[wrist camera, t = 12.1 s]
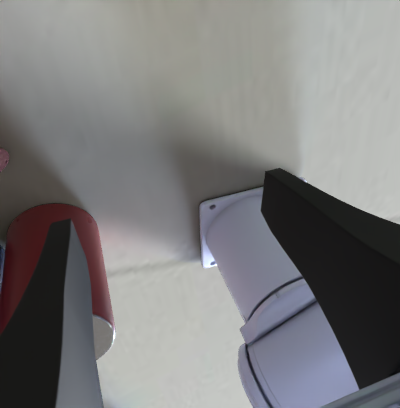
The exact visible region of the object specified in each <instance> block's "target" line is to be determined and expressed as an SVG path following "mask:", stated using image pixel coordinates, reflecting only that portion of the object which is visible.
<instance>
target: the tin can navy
mask: <svg viewBox="0 0 400 408" xmlns="http://www.w3.org/2000/svg"><path fill="white" fill-rule="evenodd" d="M4 257H5V251H4V249H3V248H2V246H1V245H0V294H1V285H2V276H3V266H4Z"/></svg>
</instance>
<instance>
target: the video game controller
mask: <svg viewBox="0 0 400 408" xmlns="http://www.w3.org/2000/svg"><path fill="white" fill-rule="evenodd" d="M8 161H9V153H8V152H7V151H6V150H4V149H2V148H0V172H1V171H2V170H3V169H4V168H5V167H6V165H7V163H8Z"/></svg>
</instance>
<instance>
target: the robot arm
mask: <svg viewBox="0 0 400 408" xmlns="http://www.w3.org/2000/svg"><path fill="white" fill-rule="evenodd" d="M211 205H213V206H211ZM210 206H211V207H210ZM199 215H200V241H201V264H202V266H203V268H209V267H212V266H216V265H217V266H218V268H219V270H220V272H221V275H222V277H223V279H224V281H225V283H226V285H227V287H228V289H229V291H230V293H231V295H232V297H233V299H234V301H235V304H236V306H237V308H238V310H239V312H240V314H241V316H242V318H243V320H244V322H245V325H244V326H242V327H241V328H240V331H241V333H242V336H243V338H244V340H245V343H244V344H242V345H241V346H240V347H239V351H238V371H239V376H240V379H241V382H242V385H243V387H244V390H245V392H246V394H247V396H248V398H249V400H250V402H251V404H252V406H253V408H400V224H396V223H393V222H391V221H388V220H385V219H382V218H380V217H377V216H375V215H372V214H370V213H367V212H365V211H362V210H360V209H358V208H355V207H353V206H351V205H349V204H347V203H345V202H343V201H341V200H339V199H337V198H335V197H333V196H331V195H329V194H327V193H325V192H323V191H321V190H319V189H318V188H316V187H314V186H312V185H310V184H308V183H307V182H306V180H305V179H304V178H302V177H301V178H298V177H296V176H294V175H292V174H290V173H289V172H287V171H285V170H283V169H281V168H278V169H274V170H269V171H265V179H264V187H260V188H256V189H252V190H248V191H244V192H240V193H236V194H232V195H228V196H224V197H220V198H216V199H212V200H208V201H204V202H202V203H201V204H200V206H199ZM0 408H104V407H103V401H102V395H101V389H100V383H99V377H98V370H97V364H96V357H95V348H94V333H93V314H92V296H91V282H90V276H89V270H88V265H87V259H86V256H85V253H84V251H83V248H82V246H81V243H80V240H79V238H78V235H77V233H76V230H75V227H74V225H73V222H72V220H71V218H69V219H65V220H61V221H57V222H53V223H51V225H50V226H49V230H48V233H47V236H46V240H45V243H44V246H43V248H42V251H41V254H40V257H39V259H38V262H37V264H36V266H35V269H34V271H33V274H32V276H31V278H30V281H29V283H28V285H27V287H26V289H25V291H24V293H23V295H22V297H21V299H20V301H19V303H18V305H17V307H16V309H15V311H14V313H13V315H12V316H11V318H10V320H9V322H8V323H7V325H6V327H5V328H4V330H3V332H2V333H1V335H0Z"/></svg>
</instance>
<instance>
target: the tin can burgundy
mask: <svg viewBox="0 0 400 408" xmlns="http://www.w3.org/2000/svg"><path fill="white" fill-rule="evenodd" d="M69 218H71V220H72V222H73V225H74V227H75V230H76V233H77V235H78V238H79V240H80V243H81V246H82V248H83V251H84V253H85V256H86V259H87V265H88V270H89V276H90V282H91V296H92V314H93V333H94V348H95V357H96V360H97V359H99V358H100V357H101V356H103V355H104V354H105V353H106V352H107V351H108V350H109V348H110V347H111V345H112V343H113V341H114V337H115V324H114V318H113V312H112V306H111V301H110V295H109V289H108V283H107V277H106V271H105V266H104V260H103V254H102V248H101V242H100V236H99V230H98V226H97V224H96V222H95V220H94V219H93V218H92V216H91V215H89V214H88V213H87V212H86V211H84V210H82V209H80V208H78V207H75V206H72V205H67V204H45V205H40V206H36V207H33V208H31V209H28V210H26V211H24V212H23V213H21V214H20V215H19V216H18V217H16V218H15V219H14V221H13V222H12V223H11V225H10V226H9V229H8V232H7V239H6V248H5V257H4V266H3V276H2V285H1V294H0V335H1V333H2V332H3V330H4V328H5V327H6V325H7V323H8V322H9V320H10V318H11V316H12V315H13V313H14V311H15V309H16V307H17V305H18V303H19V301H20V299H21V297H22V295H23V293H24V291H25V289H26V287H27V285H28V283H29V281H30V278H31V276H32V274H33V271H34V269H35V266H36V264H37V262H38V259H39V257H40V254H41V251H42V248H43V246H44V243H45V240H46V236H47V233H48V230H49V226H50V225H51V223H53V222H57V221H61V220H65V219H69Z"/></svg>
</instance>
